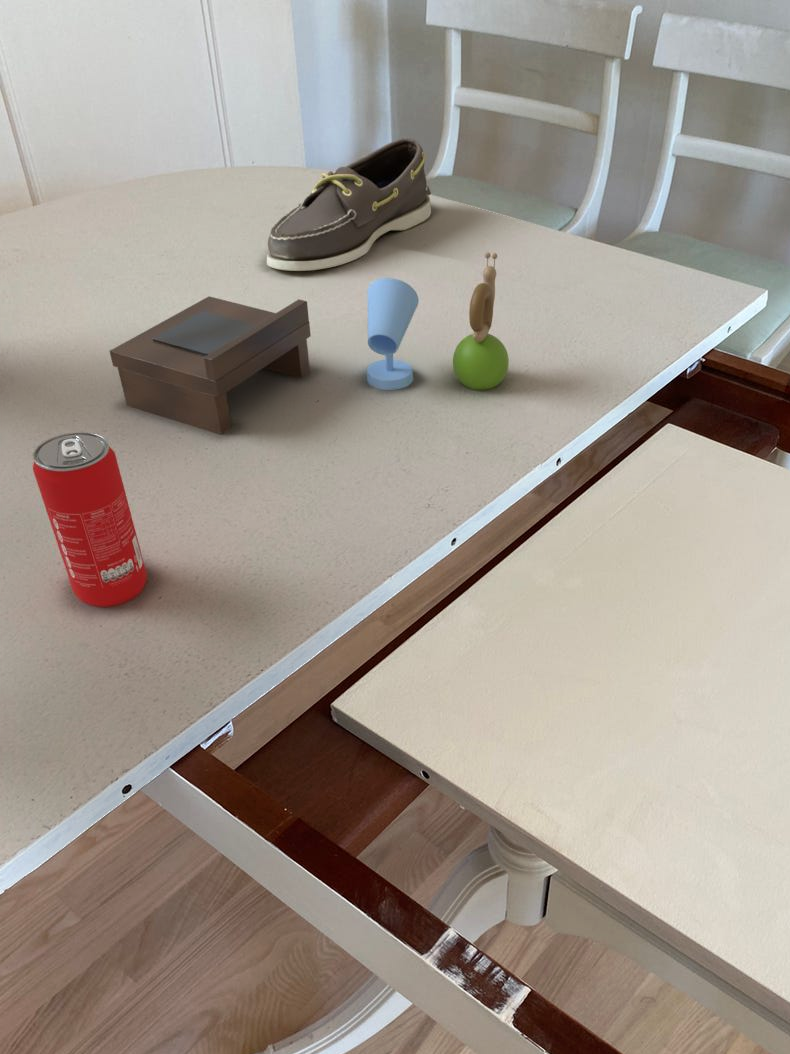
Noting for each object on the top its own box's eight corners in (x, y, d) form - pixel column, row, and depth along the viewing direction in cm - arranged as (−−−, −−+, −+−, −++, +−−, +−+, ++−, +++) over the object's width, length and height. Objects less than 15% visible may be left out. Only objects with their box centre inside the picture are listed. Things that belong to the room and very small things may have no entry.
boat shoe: (239, 269, 117) (228, 189, 111) (387, 200, 137) (384, 129, 131) (311, 289, 113) (303, 208, 107) (452, 215, 133) (452, 143, 127)
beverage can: (81, 623, 69) (32, 478, 61) (72, 581, 72) (25, 438, 64) (155, 604, 70) (118, 461, 62) (143, 564, 74) (106, 423, 66)
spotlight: (374, 365, 99) (359, 397, 94) (368, 267, 92) (352, 296, 87) (421, 369, 99) (409, 401, 94) (419, 271, 92) (406, 300, 87)
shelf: (124, 410, 91) (103, 329, 86) (218, 352, 101) (205, 276, 95) (227, 443, 87) (212, 359, 82) (315, 379, 97) (307, 300, 91)
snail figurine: (514, 374, 98) (520, 254, 90) (501, 403, 94) (506, 280, 86) (462, 367, 99) (463, 248, 91) (446, 396, 95) (446, 274, 87)
